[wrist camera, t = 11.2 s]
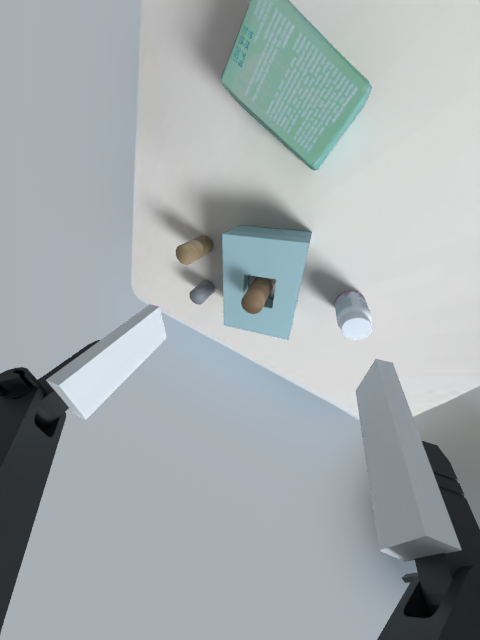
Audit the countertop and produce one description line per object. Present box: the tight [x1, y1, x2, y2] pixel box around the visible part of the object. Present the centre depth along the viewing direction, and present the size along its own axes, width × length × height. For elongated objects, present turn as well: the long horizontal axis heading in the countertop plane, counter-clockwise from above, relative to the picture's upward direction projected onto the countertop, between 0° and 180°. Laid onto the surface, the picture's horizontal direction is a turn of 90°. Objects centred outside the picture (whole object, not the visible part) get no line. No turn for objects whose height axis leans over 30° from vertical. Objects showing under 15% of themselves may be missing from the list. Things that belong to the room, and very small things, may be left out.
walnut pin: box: [241, 277, 276, 314], centre depth 33 cm, size 3×3×12 cm
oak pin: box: [176, 236, 213, 265], centre depth 36 cm, size 3×3×8 cm
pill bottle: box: [335, 291, 372, 340], centre depth 33 cm, size 5×5×8 cm
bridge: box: [222, 225, 312, 340], centre depth 35 cm, size 16×12×8 cm
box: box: [221, 0, 372, 170], centre depth 22 cm, size 7×14×8 cm, turn 56°
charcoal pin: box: [190, 280, 215, 304], centre depth 42 cm, size 3×3×5 cm
